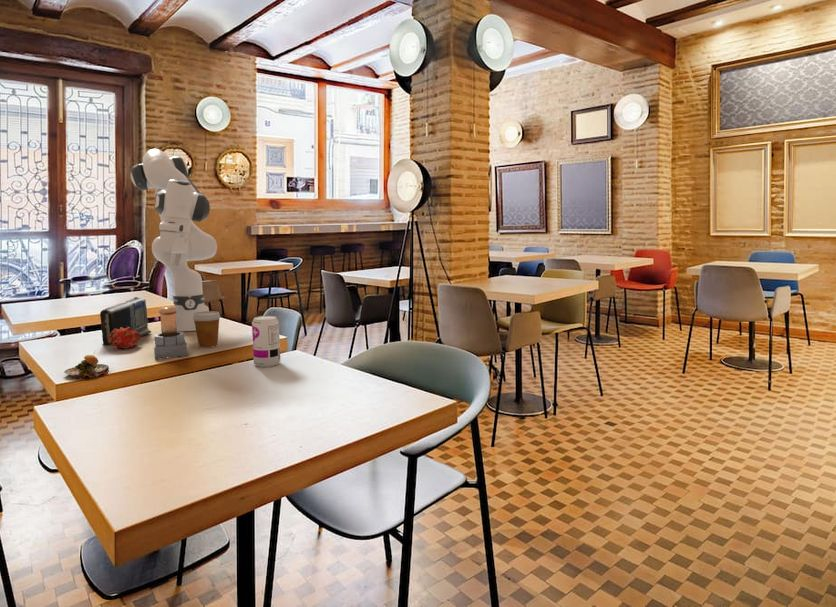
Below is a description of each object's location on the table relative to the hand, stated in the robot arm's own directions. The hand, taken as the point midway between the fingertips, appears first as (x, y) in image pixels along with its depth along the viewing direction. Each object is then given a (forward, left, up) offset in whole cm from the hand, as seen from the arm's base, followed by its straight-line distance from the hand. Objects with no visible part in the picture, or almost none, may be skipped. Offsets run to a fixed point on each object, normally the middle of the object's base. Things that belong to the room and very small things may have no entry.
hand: (172, 266), depth 207 cm
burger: (+24, -27, -30) cm, 47 cm away
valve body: (+6, -3, -29) cm, 30 cm away
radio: (-25, -17, -30) cm, 42 cm away
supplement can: (+37, +24, -29) cm, 53 cm away
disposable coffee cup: (+1, +10, -29) cm, 31 cm away
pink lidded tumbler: (+9, -3, -25) cm, 27 cm away
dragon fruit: (-9, -17, -29) cm, 35 cm away
